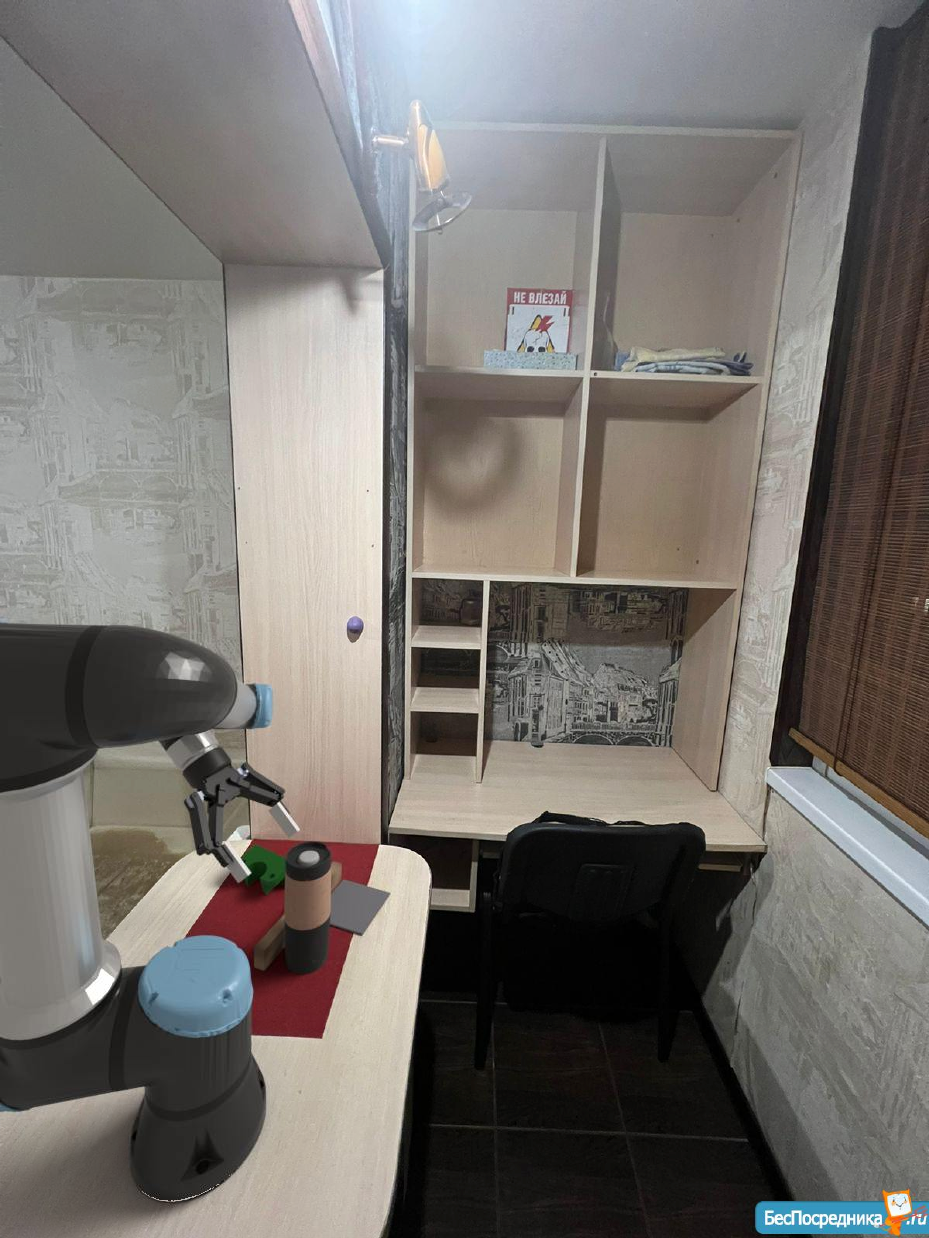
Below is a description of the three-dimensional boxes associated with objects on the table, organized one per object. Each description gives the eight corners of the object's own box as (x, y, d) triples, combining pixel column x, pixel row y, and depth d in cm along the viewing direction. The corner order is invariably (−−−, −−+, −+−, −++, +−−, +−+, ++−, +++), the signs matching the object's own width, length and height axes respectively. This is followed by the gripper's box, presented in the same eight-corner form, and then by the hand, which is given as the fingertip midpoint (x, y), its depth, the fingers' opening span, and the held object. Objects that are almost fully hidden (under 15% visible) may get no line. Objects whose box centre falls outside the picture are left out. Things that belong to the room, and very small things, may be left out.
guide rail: (264, 970, 88) (264, 950, 88) (254, 967, 89) (254, 946, 88) (341, 880, 112) (341, 863, 111) (333, 877, 112) (333, 861, 112)
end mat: (362, 935, 97) (362, 933, 97) (311, 919, 100) (311, 917, 100) (390, 894, 109) (390, 892, 109) (343, 880, 112) (343, 879, 112)
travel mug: (275, 971, 88) (276, 864, 85) (296, 937, 96) (297, 837, 92) (318, 979, 87) (321, 871, 84) (336, 944, 95) (338, 844, 92)
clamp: (248, 899, 111) (228, 864, 109) (269, 878, 116) (250, 844, 114) (282, 902, 104) (261, 865, 102) (303, 879, 109) (284, 843, 107)
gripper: (237, 743, 107) (299, 827, 105) (127, 801, 83) (205, 911, 81) (259, 723, 104) (323, 809, 103) (152, 777, 81) (233, 889, 79)
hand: (271, 854), depth 92 cm, fingers open, 13 cm apart
